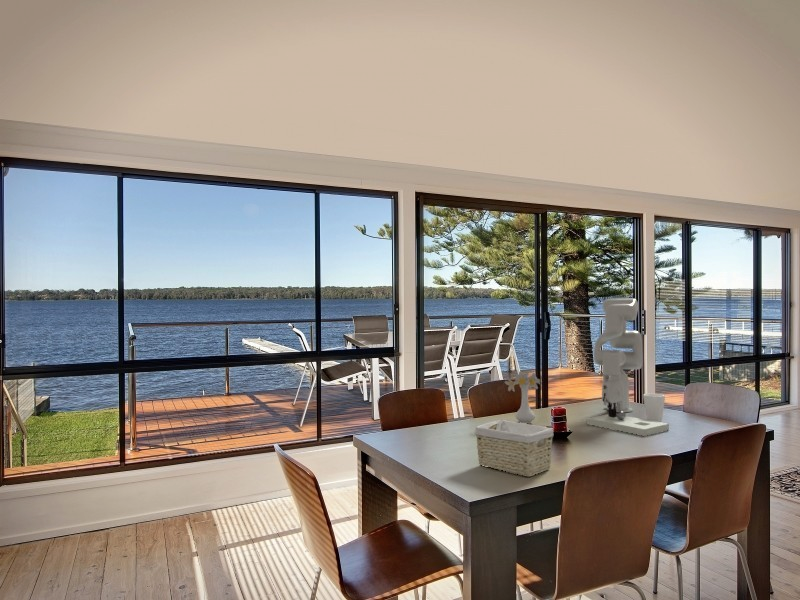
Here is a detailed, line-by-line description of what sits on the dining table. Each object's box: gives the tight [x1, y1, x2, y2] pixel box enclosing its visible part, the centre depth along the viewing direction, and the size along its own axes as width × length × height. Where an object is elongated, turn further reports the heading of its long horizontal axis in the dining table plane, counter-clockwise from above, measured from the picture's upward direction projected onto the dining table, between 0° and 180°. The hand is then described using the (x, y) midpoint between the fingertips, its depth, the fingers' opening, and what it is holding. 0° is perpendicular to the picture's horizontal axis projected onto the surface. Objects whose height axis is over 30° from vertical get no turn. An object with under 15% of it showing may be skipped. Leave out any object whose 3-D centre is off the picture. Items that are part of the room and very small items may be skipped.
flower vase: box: [504, 370, 541, 424], centre depth 272 cm, size 13×18×25 cm
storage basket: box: [474, 419, 554, 478], centre depth 200 cm, size 24×16×15 cm
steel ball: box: [616, 411, 627, 420], centre depth 261 cm, size 4×4×4 cm
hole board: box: [586, 413, 670, 437], centre depth 258 cm, size 30×18×3 cm, turn 33°
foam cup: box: [643, 392, 666, 423], centre depth 268 cm, size 10×9×13 cm
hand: (612, 416), depth 265 cm, fingers closed
